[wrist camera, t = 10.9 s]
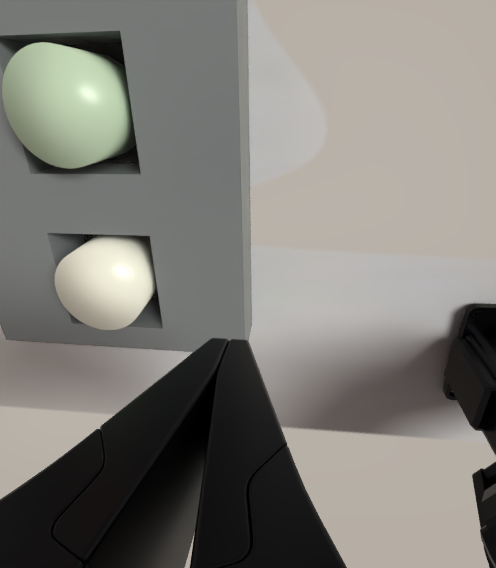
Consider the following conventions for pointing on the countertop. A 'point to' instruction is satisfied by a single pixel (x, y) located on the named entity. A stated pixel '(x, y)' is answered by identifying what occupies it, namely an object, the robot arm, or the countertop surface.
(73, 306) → the ivory button
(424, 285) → the countertop surface
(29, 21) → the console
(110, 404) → the countertop surface
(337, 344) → the countertop surface
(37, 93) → the sage button
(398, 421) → the countertop surface
